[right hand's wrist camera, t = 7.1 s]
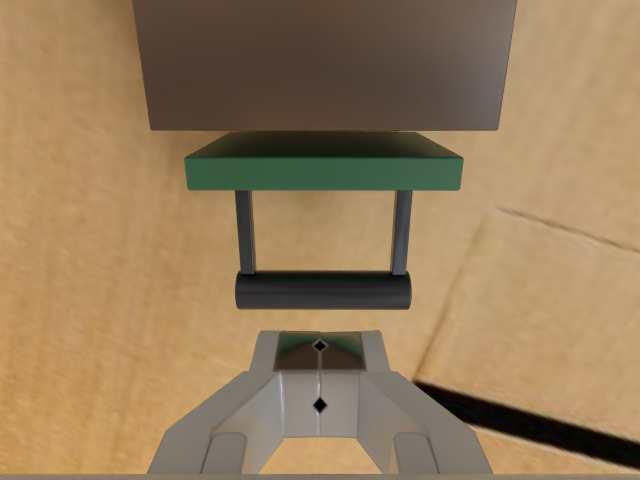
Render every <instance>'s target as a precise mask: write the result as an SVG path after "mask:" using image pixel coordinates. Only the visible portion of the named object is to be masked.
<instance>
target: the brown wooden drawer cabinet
mask: <svg viewBox="0 0 640 480" xmlns="http://www.w3.org/2000/svg"><path fill="white" fill-rule="evenodd" d="M132 2H133V9H134V16H135V23H136V30H137V37H138V44H139V51H140V58H141V65H142V72H143V79H144V86H145V94H146V101H147V108H148V115H149V122H150V129H151V130H205V131H496V130H498V126H499V119H500V112H501V106H502V99H503V92H504V85H505V79H506V72H507V65H508V58H509V51H510V45H511V38H512V31H513V24H514V18H515V11H516V4H517V0H132Z"/></svg>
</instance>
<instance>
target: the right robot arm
mask: <svg viewBox="0 0 640 480" xmlns="http://www.w3.org/2000/svg"><path fill="white" fill-rule="evenodd" d="M302 437H338V438H357V440H358V442H359V443H360V444H361V446H362V447H363V448H364V450H365V451H366V452H367V454H368V455H369V456H370V458H371V459H372V460H373V462H374V463H375V464H376V466H377V467H378V468H379V470H380V471H381V472H382V474H258V473H259V471H260V470H261V469H262V467H263V466H264V465H265V463H266V462H267V461H268V459H269V458H270V457H271V455H272V454H273V453H274V451H275V450H276V449H277V447H278V446H279V445H280V444H281V442H282V441H283V438H302ZM0 480H640V474H493V472H492V469H491V467H490V465H489V463H488V460H487V458H486V456H485V454H484V451H483V449H482V447H481V445H480V442H479V440H478V438H477V436H476V433H475V431H474V430H472V429H471V428H470V427H468V426H467V425H466V424H464V423H463V422H462V421H461V420H459V419H458V418H457V417H455V416H454V415H453V414H451V413H450V412H449V411H448V410H446V409H445V408H444V407H442V406H441V405H440V404H438V403H437V402H436V401H434V400H433V399H432V398H431V397H429V396H428V395H427V394H425V393H424V392H423V391H421V390H420V389H419V388H418V387H416V386H415V385H414V384H412V383H411V382H410V381H408V380H407V379H406V378H405V377H403V376H402V375H401V374H399V373H398V372H391V370H390V366H389V362H388V358H387V354H386V350H385V346H384V342H383V338H382V334H381V332H380V331H355V332H311V331H281V332H280V331H260V332H259V333H258V337H257V341H256V345H255V349H254V353H253V357H252V361H251V366H250V370H249V372H242V373H241V374H239V375H238V376H237V377H235V378H234V379H233V380H232V381H230V382H229V383H228V384H226V385H225V386H224V387H222V388H221V389H220V390H218V391H217V392H216V393H215V394H213V395H212V396H211V397H209V398H208V399H207V400H205V401H204V402H203V403H201V404H200V405H199V406H198V407H196V408H195V409H194V410H192V411H191V412H190V413H188V414H187V415H186V416H184V417H183V418H182V419H181V420H179V421H178V422H177V423H175V424H174V425H173V426H171V427H170V428H169V429H167V430H166V432H165V434H164V436H163V438H162V440H161V443H160V445H159V447H158V449H157V452H156V454H155V456H154V458H153V461H152V463H151V465H150V467H149V469H148V472H147V474H0Z"/></svg>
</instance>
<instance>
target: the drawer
mask: <svg viewBox="0 0 640 480" xmlns="http://www.w3.org/2000/svg"><path fill="white" fill-rule="evenodd" d="M463 160H464V159H463V157H461V156H459V155H457V154H455V153H454V152H452V151H450V150H448V149H446V148H444V147H443V146H441V145H439V144H437V143H435V142H433V141H431V140H430V139H428V138H426V137H424V136H422V135H420V134H418V133H416V132H230V133H228V134H226V135H224V136H223V137H221V138H219V139H217V140H215V141H214V142H212V143H210V144H208V145H206V146H205V147H203V148H201V149H199V150H197V151H196V152H194V153H192V154H190V155H188V156H187V157H185V159H184V161H185V170H186V179H187V187H188V190H235V200H236V213H237V227H238V240H239V253H240V267H241V270H240V271H239V272H238V274H237V277H236V284H235V300H236V305H237V308H238V309H302V310H408V309H409V307H410V304H411V295H412V289H411V279H410V275H409V273H408V271H406V264H407V252H408V239H409V227H410V215H411V202H412V190H459V189H460V185H461V177H462V168H463ZM252 190H395V201H394V216H393V231H392V246H391V262H390V270H391V271H312V270H256V254H255V237H254V220H253V204H252Z"/></svg>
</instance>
